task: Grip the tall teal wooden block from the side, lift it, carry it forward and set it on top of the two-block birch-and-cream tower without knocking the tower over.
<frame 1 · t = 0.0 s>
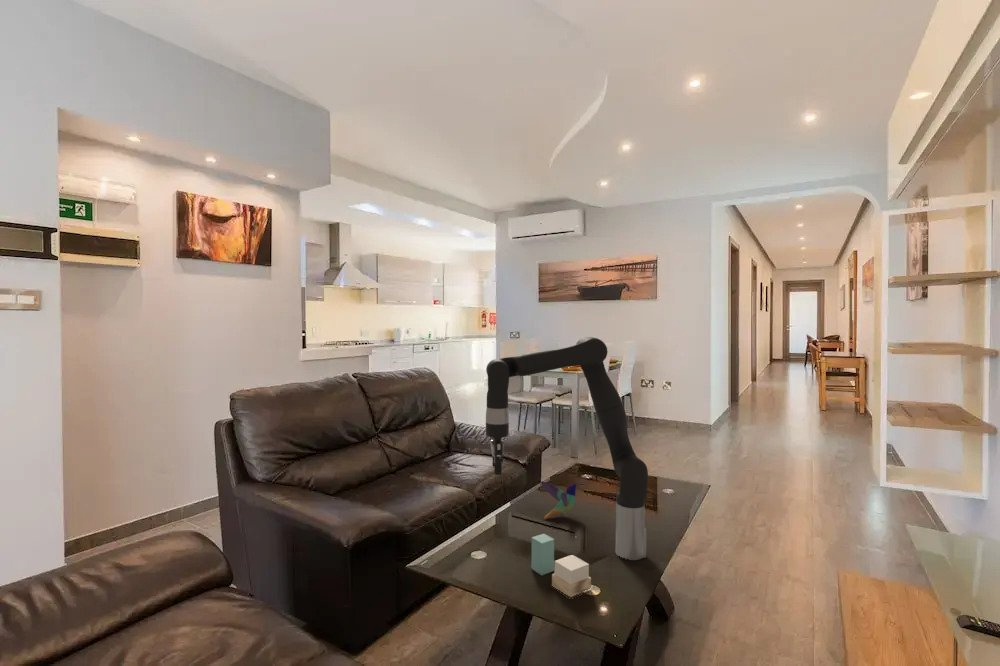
hand: (496, 470, 161), 29 cm above the table, tool pointing down, fingers open, 8 cm apart
tower base block: (571, 589, 145), on the table
decorative sculpture: (564, 516, 197), on the table
teal block: (542, 569, 155), on the table
tower top block: (571, 576, 144), point 4 cm above the table
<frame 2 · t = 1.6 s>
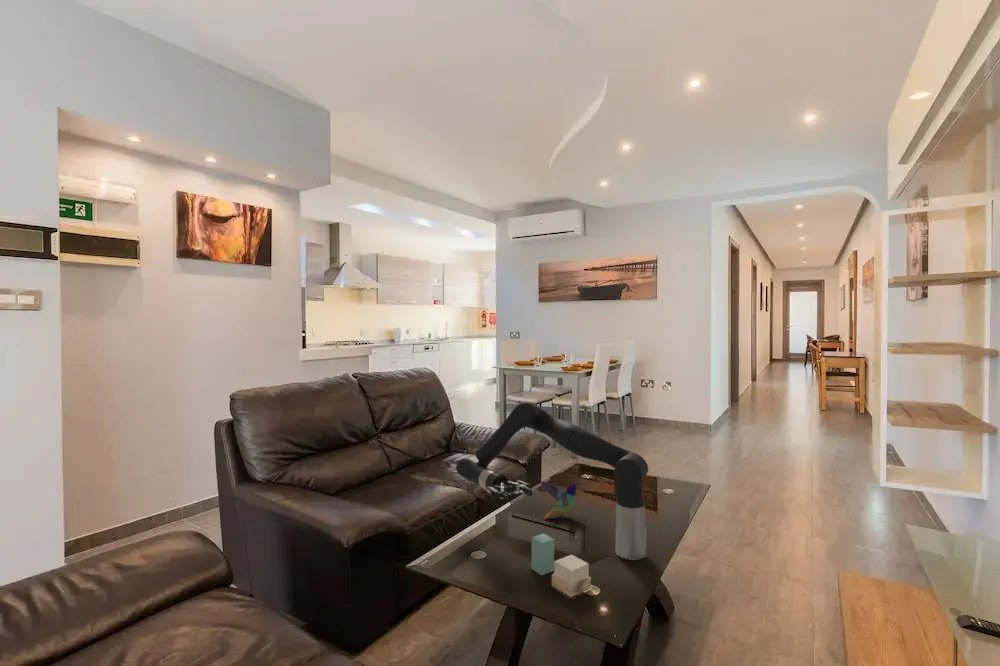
hand: (521, 495, 163), 20 cm above the table, tool horizontal, fingers open, 8 cm apart
tower base block: (571, 589, 145), on the table, touching tower top block
tower top block: (571, 575, 144), point 4 cm above the table, touching tower base block
everything else where it was.
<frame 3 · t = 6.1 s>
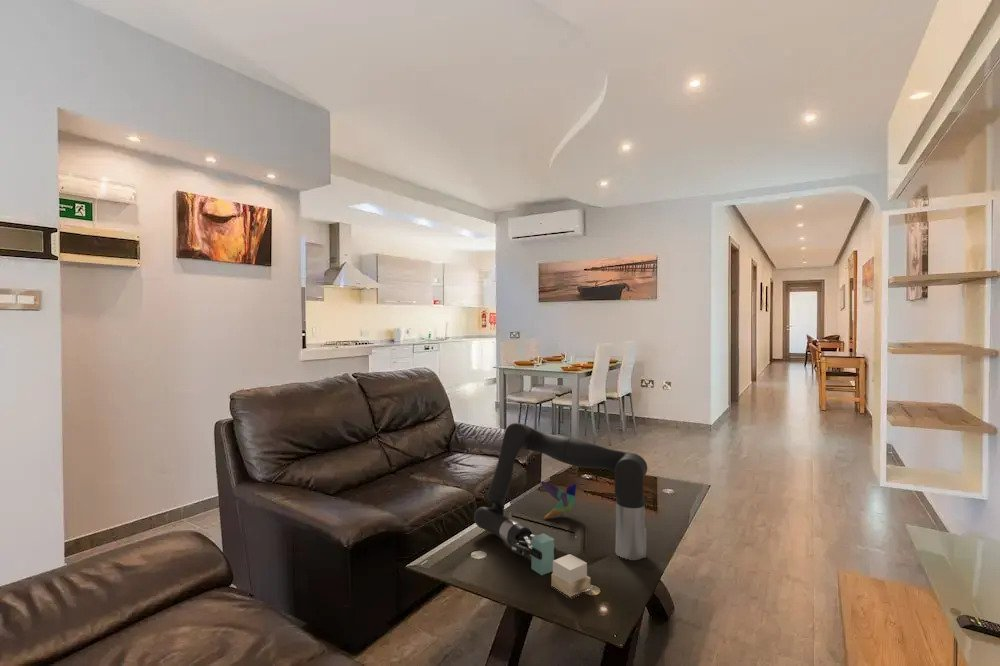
hand: (548, 553, 153), 6 cm above the table, tool horizontal, fingers closed on teal block, 5 cm apart
tower base block: (570, 589, 145), on the table
teal block: (542, 569, 155), on the table, touching gripper
tower top block: (569, 575, 145), point 4 cm above the table
everything else where it was.
when the fingers open (15 cm above the table, at t = 11.6 s): teal block drops 2 cm, point 8 cm above the table.
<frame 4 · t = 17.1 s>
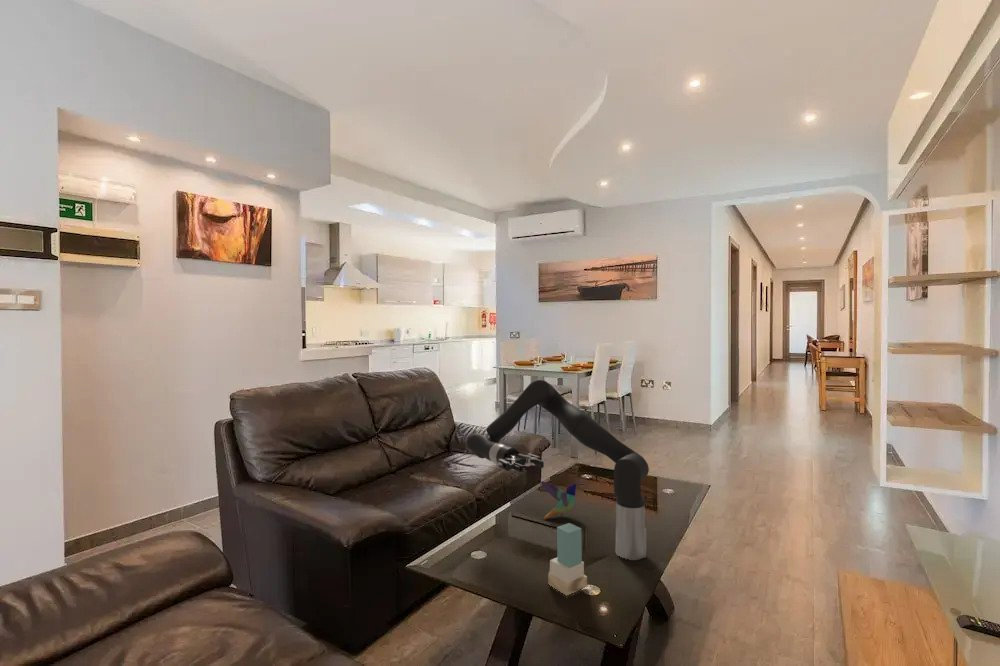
hand: (532, 467, 162), 30 cm above the table, tool horizontal, fingers open, 8 cm apart
tower base block: (567, 587, 145), on the table
teal block: (569, 561, 145), point 8 cm above the table
at the end: teal block 0.9 cm off-centre on the tower top block, point 4.1 cm above the tower top block's base; teal block tilted 1°; tower top block 0.4 cm from the tower base block (horizontally) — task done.
